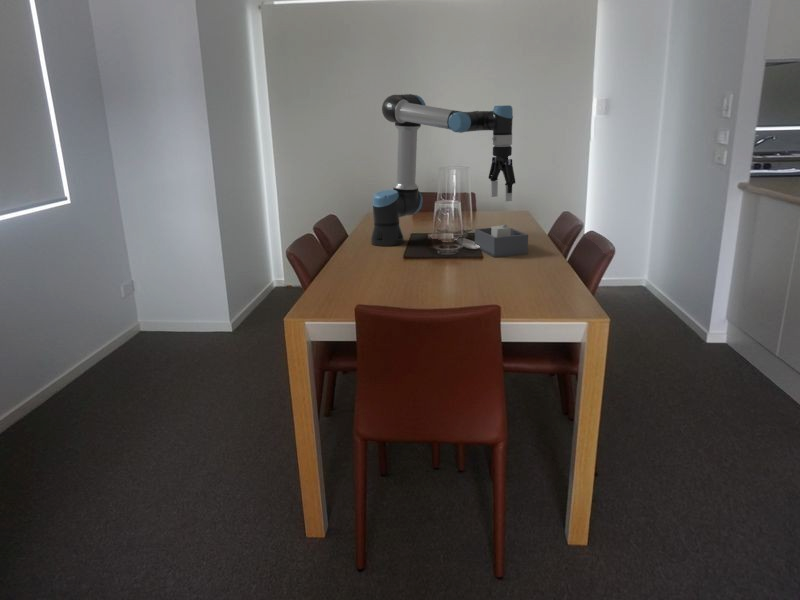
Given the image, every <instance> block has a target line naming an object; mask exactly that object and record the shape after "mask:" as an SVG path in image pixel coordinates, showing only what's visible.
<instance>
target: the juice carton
mask: <svg viewBox="0 0 800 600" xmlns="http://www.w3.org/2000/svg"><path fill="white" fill-rule="evenodd" d="M490 228H491V235H492V236H494V237H504V236H511V228H512V227H510V226H507V224H502V225H496V226H495V225H494V226H491V227H490Z"/></svg>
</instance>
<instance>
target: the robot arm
mask: <svg viewBox="0 0 800 600" xmlns="http://www.w3.org/2000/svg"><path fill="white" fill-rule="evenodd" d="M492 109H493V110H489V111H488V110H473V111H460V110H454V109H448V108H441V107H436V106H429V105H427V104H426V102H425V101H424V99H423V98H422V97H421V96H419V95H417V94H411V93H410V94H409V93H407V94H406V93H405V94H391V95H389V96H387V97H386V98H385V99H384V101H383V102H382V106H381V112H382V115H383V117H384V118H385V119H386V120H387V121H388V122H391V123H394V127H396V129H397V133H398V134H397V158H396V159H397V163H396V165H397V168H396V183H395V184H394V185H393V189H386V190H380V191H377V192H375V193H374V194H373V196H372V212H373V228H372V229H373V230H372V234H371V237H370V244H371V245H373V246H379V247H391V246H393V247H394V246H398V245H401V244H404V242H405V238H404V234H403V231H402V229H401V226H400V218H402V217H406V216H412V215H414V214H416V213H417V212H419V211H420V210H421V209H422V206H423V201H424V199H423V195H422V194H421V192H420V191H419V186H418V185H417V184H416V172H417V171H416V170H417V148H418V147H417V142H418V130H419V129H420V128H421V126H422V125H424V126H430V127H435V128H439V129H446V130H450V131H452V132H454V133H460V134H462V133H469V132H477V131H478V132H479V131H492V145H493V147H492V156H493V157H492V159H491V165H490V170H489V174H488V179H489V180H490V198H495V197H497V198H498V196H499V195H498V192H499V191H498V190H499V187H498V186H499V185H498V184H499V183H498V182H499V176H500V173H501V172H502V174H503V177H504V181H505V184H504V187H505V188H504V202H512V201H513V185H514V184H516V177H515V173H514V166H513V159H512V158H509V157H511V156H512V151H513V150H512V149H513V148H512V146H511V145H513V118H514V116H513V115H514V114H513V113H514V112H513V111H514V110H513V107H512V105H494V106H493V108H492Z"/></svg>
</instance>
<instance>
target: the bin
mask: <svg viewBox="0 0 800 600" xmlns="http://www.w3.org/2000/svg"><path fill="white" fill-rule="evenodd" d="M510 228H511V236H504V237H494V236H492V235H491V227H485V228H475V229H474V245H475V244H477V245H479V246H480V250H479V251H481V252H483V253H485V254H487V255H489V256H491V257H493V258H501V257H510V256H520V255H521V256H522V255H528V253H529V234H528V233H525V232H524V231H523V232H522V231H520V230H518V229H515V228H512V227H510Z"/></svg>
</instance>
